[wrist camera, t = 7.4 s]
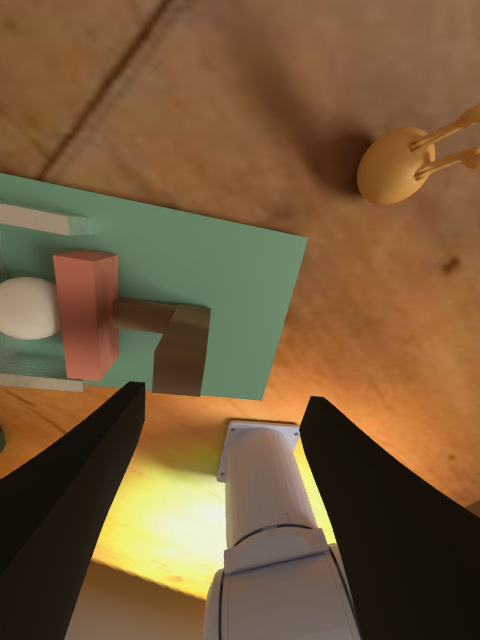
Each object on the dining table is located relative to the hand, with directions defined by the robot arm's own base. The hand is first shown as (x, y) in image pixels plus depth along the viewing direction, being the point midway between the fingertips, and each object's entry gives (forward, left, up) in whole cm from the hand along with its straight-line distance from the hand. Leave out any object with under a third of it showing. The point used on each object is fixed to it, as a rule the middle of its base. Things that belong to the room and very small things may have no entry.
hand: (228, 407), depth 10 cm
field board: (0, +6, -10) cm, 12 cm away
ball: (0, +13, -7) cm, 14 cm away
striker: (0, +6, -9) cm, 10 cm away
